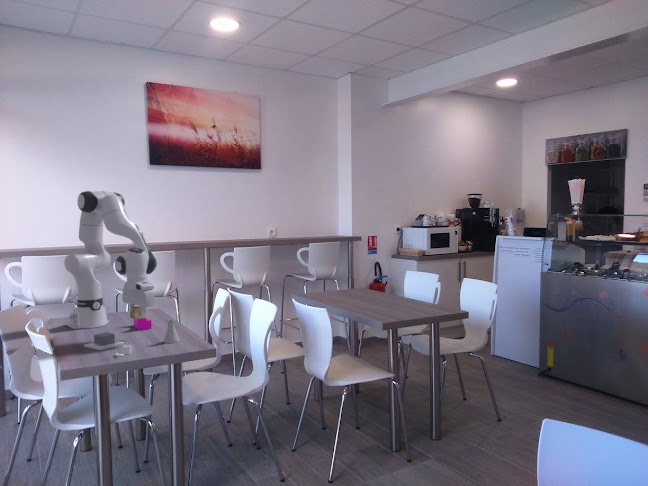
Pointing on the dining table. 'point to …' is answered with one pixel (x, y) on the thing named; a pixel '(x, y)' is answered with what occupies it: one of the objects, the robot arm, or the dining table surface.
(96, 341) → the white platform base
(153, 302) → the robot arm
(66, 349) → the dining table surface
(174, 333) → the flask
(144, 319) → the toy block
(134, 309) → the beech block
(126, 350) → the teacup and saucer
